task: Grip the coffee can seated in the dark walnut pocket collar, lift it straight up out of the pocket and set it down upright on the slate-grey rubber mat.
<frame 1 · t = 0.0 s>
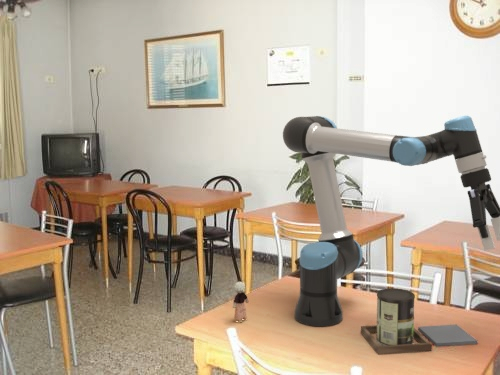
hand: (496, 244, 149), 28 cm above the table, tool tilted 20°, fingers open, 13 cm apart
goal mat: (446, 336, 156), on the table
grandmother figurine: (240, 321, 171), on the table
coffee can: (394, 342, 153), resting in pocket collar
pocket collar: (394, 341, 153), on the table
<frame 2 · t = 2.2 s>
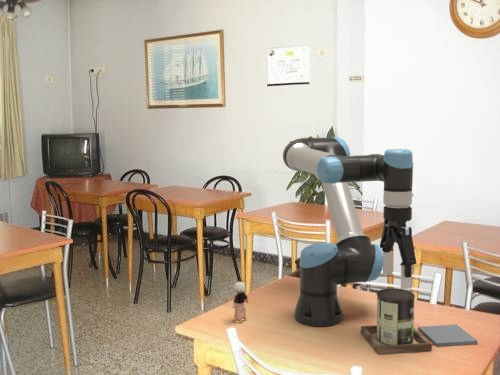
hand: (396, 281, 151), 18 cm above the table, tool pointing down, fingers open, 13 cm apart
nothing on the table moved.
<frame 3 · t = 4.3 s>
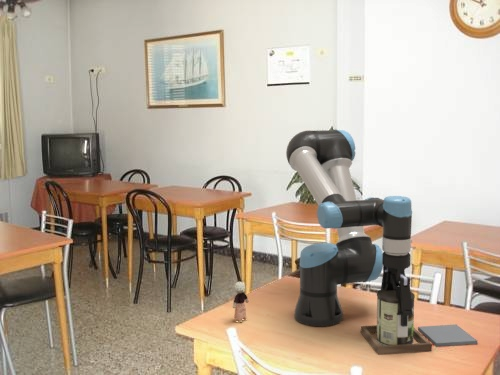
hand: (394, 328, 153), 4 cm above the table, tool pointing down, fingers closed on coffee can, 10 cm apart
coffee can: (394, 342, 153), resting in pocket collar, touching gripper
everything else where it was.
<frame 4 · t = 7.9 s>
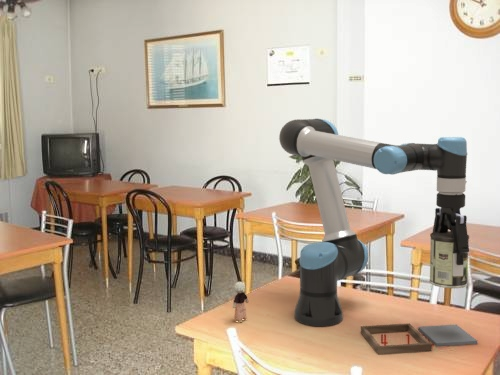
hand: (448, 270, 153), 20 cm above the table, tool pointing down, fingers closed on coffee can, 10 cm apart
coffee can: (448, 283, 154), point 16 cm above the table, touching gripper
everything else where it was.
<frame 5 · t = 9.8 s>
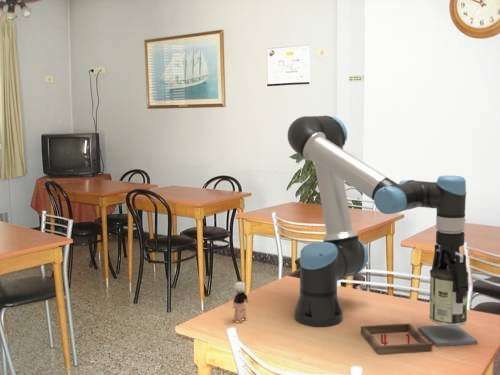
hand: (448, 306, 155), 9 cm above the table, tool pointing down, fingers closed on coffee can, 10 cm apart
coffee can: (447, 320, 155), point 5 cm above the table, touching gripper
everything else where it was.
when the fingers open (6 cm above the table, at t = 11.4 s): coffee can drops 1 cm, resting on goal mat.
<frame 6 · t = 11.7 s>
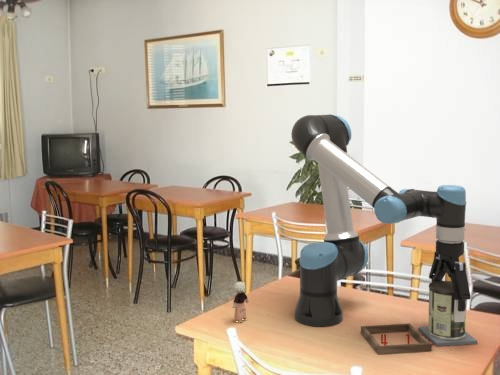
hand: (447, 312, 155), 7 cm above the table, tool pointing down, fingers open, 13 cm apart
coffee can: (446, 333, 156), point 1 cm above the table, touching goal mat
everything else where it was.
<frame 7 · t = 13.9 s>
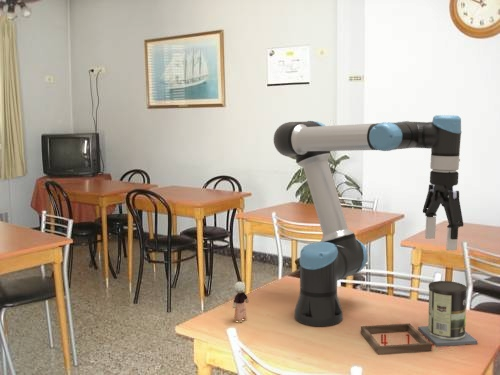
hand: (440, 244, 155), 27 cm above the table, tool pointing down, fingers open, 13 cm apart
nothing on the table moved.
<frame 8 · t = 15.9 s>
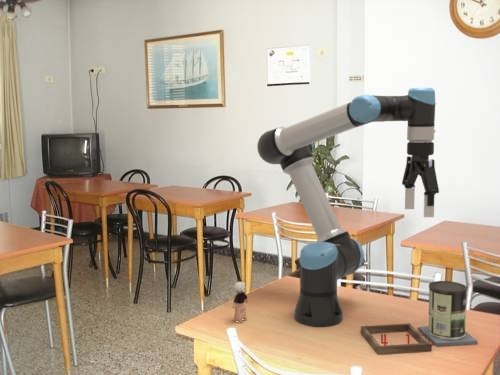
hand: (418, 213, 161), 35 cm above the table, tool pointing down, fingers open, 13 cm apart
nothing on the table moved.
at the end: coffee can inside the target area on the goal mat (0.3 cm from its centre), point 0.8 cm above the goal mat's base; coffee can tilted 0°; the gripper is holding nothing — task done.
